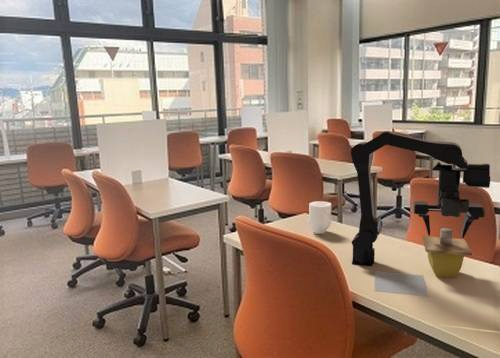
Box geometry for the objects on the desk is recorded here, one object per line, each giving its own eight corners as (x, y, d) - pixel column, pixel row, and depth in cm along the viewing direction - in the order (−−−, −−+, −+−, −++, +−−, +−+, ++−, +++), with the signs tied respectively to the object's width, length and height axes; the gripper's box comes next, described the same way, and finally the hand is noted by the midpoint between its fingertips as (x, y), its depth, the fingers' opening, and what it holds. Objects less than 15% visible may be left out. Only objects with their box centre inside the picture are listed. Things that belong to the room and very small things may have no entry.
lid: (425, 251, 120) (426, 234, 119) (422, 238, 131) (423, 222, 130) (471, 255, 116) (473, 237, 115) (464, 241, 128) (465, 225, 127)
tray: (374, 291, 116) (374, 290, 116) (374, 271, 129) (374, 271, 129) (428, 297, 111) (428, 296, 111) (423, 276, 125) (423, 275, 125)
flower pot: (463, 281, 121) (465, 252, 119) (431, 279, 122) (432, 250, 121) (454, 269, 129) (456, 242, 127) (425, 267, 131) (426, 240, 129)
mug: (304, 230, 171) (305, 202, 169) (322, 228, 175) (323, 200, 173) (320, 238, 161) (321, 208, 158) (338, 235, 164) (340, 206, 162)
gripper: (416, 190, 116) (414, 243, 119) (491, 193, 111) (486, 248, 114) (414, 182, 127) (411, 231, 130) (482, 184, 121) (478, 235, 124)
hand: (445, 236), depth 124 cm, fingers open, 9 cm apart
